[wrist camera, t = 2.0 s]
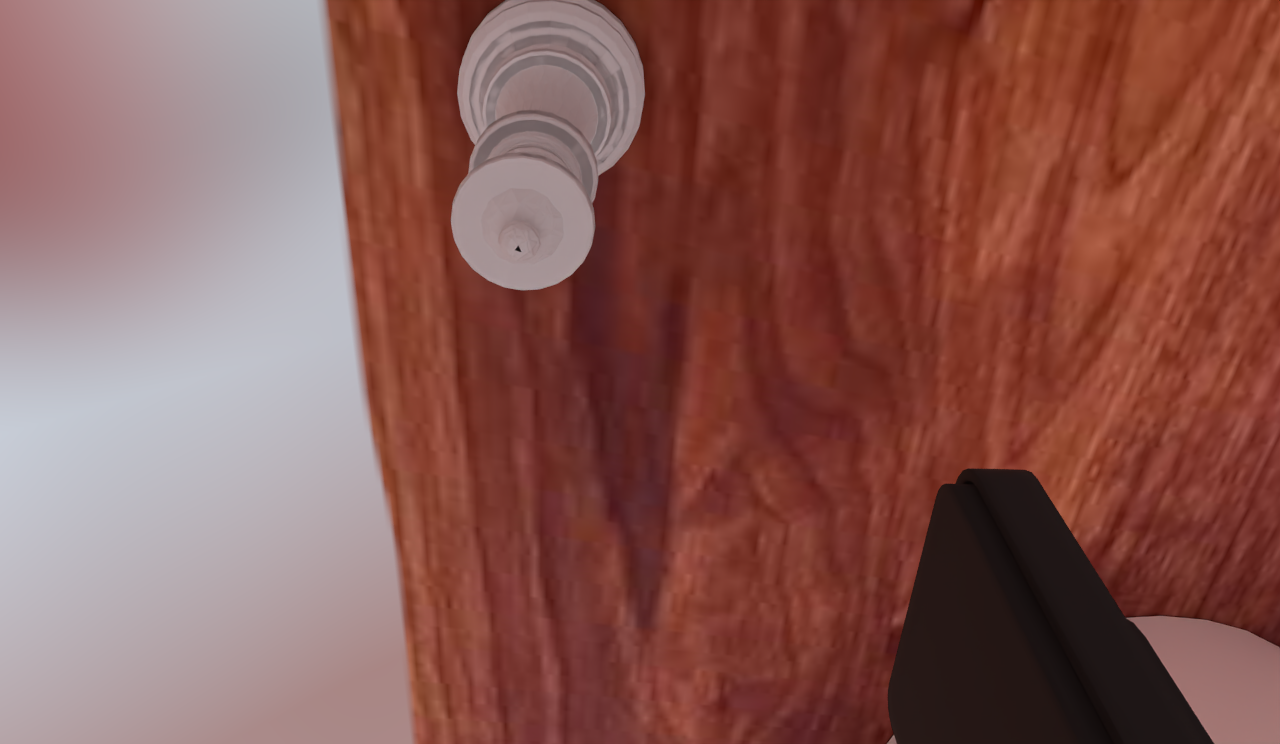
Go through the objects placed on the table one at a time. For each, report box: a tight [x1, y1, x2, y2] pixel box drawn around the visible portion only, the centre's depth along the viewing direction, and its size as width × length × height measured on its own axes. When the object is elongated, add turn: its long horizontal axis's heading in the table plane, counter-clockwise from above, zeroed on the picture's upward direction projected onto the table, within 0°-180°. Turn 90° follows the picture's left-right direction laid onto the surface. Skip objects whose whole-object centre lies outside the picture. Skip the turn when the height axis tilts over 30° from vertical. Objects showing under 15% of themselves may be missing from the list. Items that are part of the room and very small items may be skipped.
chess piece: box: [451, 0, 645, 290], centre depth 19 cm, size 4×4×10 cm
